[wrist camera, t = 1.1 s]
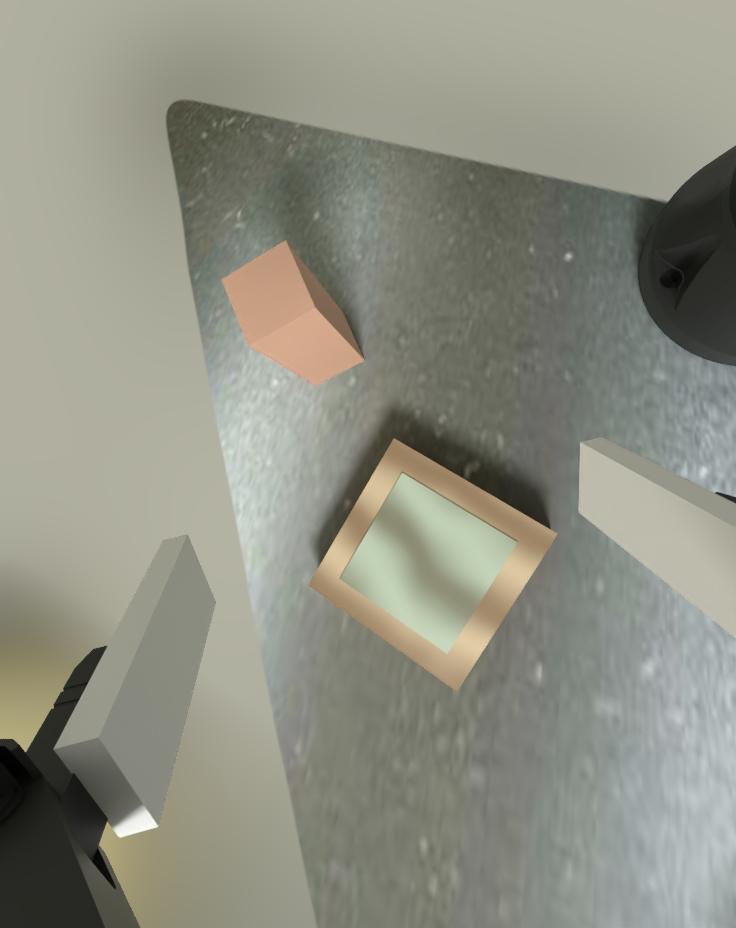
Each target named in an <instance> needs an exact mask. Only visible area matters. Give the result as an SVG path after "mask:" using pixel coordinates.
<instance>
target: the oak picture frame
mask: <svg viewBox="0 0 736 928" xmlns="http://www.w3.org/2000/svg"><path fill="white" fill-rule="evenodd" d="M557 535H558V534H557V533H556V532H554V531H553V530H551V529H549V528H548V527H546V526H544V525H542V524H541V523H539V522H537V521H536V520H534V519H532V518H531V517H529V516H527V515H525V514H524V513H522V512H520V511H519V510H517V509H515V508H513V507H512V506H510V505H508V504H507V503H505V502H503V501H501V500H500V499H498V498H496V497H495V496H493V495H491V494H489V493H488V492H486V491H484V490H483V489H481V488H479V487H477V486H476V485H474V484H472V483H471V482H469V481H467V480H465V479H464V478H462V477H460V476H459V475H457V474H455V473H453V472H452V471H450V470H448V469H447V468H445V467H443V466H441V465H440V464H438V463H436V462H435V461H433V460H431V459H429V458H428V457H426V456H424V455H423V454H421V453H419V452H417V451H416V450H414V449H412V448H411V447H409V446H407V445H405V444H404V443H402V442H400V441H398V440H396V439H393V440H392V442H391V444H390V446H389V447H388V449H387V451H386V452H385V454H384V456H383V458H382V459H381V461H380V463H379V464H378V466H377V468H376V470H375V471H374V473H373V475H372V476H371V478H370V480H369V482H368V483H367V485H366V487H365V488H364V490H363V492H362V494H361V495H360V497H359V499H358V500H357V502H356V504H355V506H354V507H353V509H352V511H351V513H350V514H349V516H348V518H347V519H346V521H345V523H344V525H343V526H342V528H341V530H340V531H339V533H338V535H337V537H336V538H335V540H334V542H333V543H332V545H331V547H330V549H329V550H328V552H327V554H326V555H325V557H324V559H323V561H322V562H321V564H320V566H319V567H318V569H317V571H316V573H315V574H314V576H313V578H312V579H311V581H310V583H309V586H310V587H312V588H313V589H314V590H316V591H317V592H319V593H320V594H321V595H323V596H324V597H326V598H327V599H328V600H330V601H331V602H333V603H334V604H335V605H337V606H338V607H340V608H341V609H342V610H344V611H345V612H347V613H348V614H349V615H351V616H352V617H354V618H355V619H356V620H358V621H359V622H361V623H362V624H363V625H365V626H366V627H367V628H369V629H370V630H372V631H373V632H374V633H376V634H377V635H379V636H380V637H381V638H383V639H384V640H386V641H387V642H388V643H390V644H391V645H393V646H394V647H395V648H397V649H398V650H400V651H401V652H402V653H404V654H405V655H407V656H408V657H409V658H411V659H412V660H414V661H415V662H416V663H418V664H419V665H421V666H422V667H423V668H425V669H426V670H428V671H429V672H430V673H432V674H433V675H435V676H436V677H437V678H439V679H440V680H441V681H443V682H444V683H446V684H447V685H448V686H450V687H451V688H453V689H454V690H455V691H458V689H459V688H460V686H461V685H462V683H463V681H464V680H465V678H466V677H467V675H468V674H469V672H470V671H471V669H472V667H473V666H474V664H475V663H476V661H477V660H478V658H479V656H480V655H481V653H482V652H483V650H484V649H485V647H486V646H487V644H488V642H489V641H490V639H491V638H492V636H493V635H494V633H495V631H496V630H497V628H498V627H499V625H500V624H501V622H502V620H503V619H504V617H505V616H506V614H507V613H508V611H509V610H510V608H511V606H512V605H513V603H514V602H515V600H516V599H517V597H518V595H519V594H520V592H521V591H522V589H523V588H524V586H525V585H526V583H527V581H528V580H529V578H530V577H531V575H532V574H533V572H534V570H535V569H536V567H537V566H538V564H539V563H540V561H541V560H542V558H543V556H544V555H545V553H546V552H547V550H548V549H549V547H550V545H551V544H552V542H553V541H554V539H555V538H556V536H557Z"/></svg>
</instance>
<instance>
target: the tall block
mask: <svg viewBox="0 0 736 928" xmlns="http://www.w3.org/2000/svg"><path fill="white" fill-rule="evenodd" d="M222 282H223V285H224V287H225V289H226V292H227V294H228V297H229V299H230V302H231V304H232V307H233V309H234V312H235V314H236V316H237V319H238V321H239V324H240V326H241V329H242V331H243V334H244V336H245V338H246V341H247V343H248V346H250V347H251V348H253V349H255V350H256V351H258V352H260V353H261V354H263V355H265V356H267V357H268V358H270V359H272V360H273V361H275V362H277V363H278V364H280V365H282V366H283V367H285V368H287V369H289V370H290V371H292V372H294V373H295V374H297V375H299V376H300V377H302V378H304V379H306V380H307V381H309V382H311V383H312V384H314V385H316V386H317V385H319V384H320V383H322V382H324V381H326V380H328V379H330V378H332V377H334V376H336V375H338V374H339V373H341V372H343V371H345V370H347V369H349V368H351V367H353V366H355V365H357V364H358V363H360V362H362V361H364V358H363V356H362V353H361V351H360V349H359V347H358V345H357V342H356V340H355V338H354V336H353V333H352V331H351V329H350V327H349V324H348V322H347V320H346V318H345V315H344V313H343V311H342V310H341V309H340V308H339V306H338V305H337V304H336V303H335V301H334V300H333V299H332V298H331V296H330V295H329V294H328V293H327V291H326V290H325V289H324V287H323V286H322V285H321V284H320V282H319V281H318V280H317V279H316V277H315V276H314V275H313V274H312V272H311V271H310V270H309V269H308V267H307V266H306V265H305V264H304V262H303V261H302V260H301V259H300V257H299V256H298V255H297V254H296V252H295V251H294V250H293V249H292V247H291V246H290V245H289V243H288V242H287V241H286V240H285V241H283V242H282V243H280V244H278V245H277V246H275V247H274V248H272V249H270V250H269V251H267V252H265V253H264V254H262V255H261V256H259V257H257V258H256V259H254V260H253V261H251V262H249V263H248V264H246V265H244V266H243V267H241V268H240V269H238V270H236V271H235V272H233V273H232V274H230V275H228V276H227V277H225V278H223V279H222Z"/></svg>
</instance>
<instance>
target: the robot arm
mask: <svg viewBox="0 0 736 928" xmlns="http://www.w3.org/2000/svg"><path fill="white" fill-rule="evenodd" d="M639 281H640V288H641V293H642V297H643V300H644V303H645V305H646V307H647V310H648V311H649V313H650V315H651V317H652V318H653V320H654V321H655V323H656V324H657V325H658V327H659V328H660V329H661V330H662V331H663V332H664V333H665V334H666V335H667V336H668V337H669V338H670V339H671V340H672V341H674V342H675V343H676V344H678V345H679V346H681V347H682V348H684V349H685V350H687V351H689V352H691V353H693V354H695V355H697V356H699V357H702V358H704V359H707V360H710V361H714V362H717V363H721V364H727V365H733V366H736V146H734V147H733V148H731V149H730V150H728V151H727V152H725V153H724V154H722V155H721V156H719V157H718V158H716V159H715V160H714V161H712V162H711V163H709V164H707V165H706V166H705V167H703V168H702V169H700V170H699V171H698V172H697V173H696V174H694V175H693V176H692V177H691V178H690V179H689V180H688V181H687V182H685V183H684V184H683V185H682V186H681V188H679V190H678V191H677V192H676V193H675V194H674V195H673V197H672V198H671V199H670V200H669V202H668V203H667V205H666V206H665V207H664V209H663V210H662V212H661V213H660V215H659V216H658V218H657V219H656V221H655V222H654V224H653V225H652V227H651V229H650V231H649V233H648V235H647V237H646V240H645V243H644V246H643V249H642V253H641V257H640V265H639ZM579 513H580V514H581V515H582V516H584V517H585V518H586V519H587V520H589V521H590V522H591V523H592V524H594V525H595V526H596V527H597V528H599V529H600V530H601V531H602V532H604V533H605V534H606V535H607V536H609V537H610V538H611V539H612V540H614V541H615V542H616V543H617V544H619V545H620V546H621V547H622V548H624V549H625V550H626V551H627V552H629V553H630V554H631V555H632V556H634V557H635V558H636V559H637V560H639V561H640V562H641V563H642V564H644V565H645V566H646V567H647V568H649V569H650V570H651V571H652V572H653V573H655V574H656V575H657V576H658V577H660V578H661V579H662V580H663V581H665V582H666V583H667V584H668V585H670V586H671V587H672V588H673V589H675V590H676V591H677V592H678V593H680V594H681V595H682V596H683V597H685V598H686V599H687V600H688V601H690V602H691V603H692V604H693V605H695V606H696V607H697V608H698V609H700V610H701V611H702V612H703V613H705V614H706V615H707V616H708V617H710V618H711V619H712V620H713V621H715V622H716V623H717V624H718V625H720V626H721V627H722V628H723V629H724V630H726V631H727V632H728V633H729V634H731V635H732V636H733V637H734V638H736V497H733V496H729V495H726V494H722V493H718V492H716V493H713V492H711V491H709V490H707V489H705V488H703V487H701V486H699V485H697V484H695V483H693V482H691V481H689V480H687V479H685V478H683V477H681V476H679V475H677V474H675V473H673V472H671V471H669V470H667V469H665V468H663V467H661V466H659V465H657V464H655V463H653V462H651V461H649V460H647V459H645V458H643V457H641V456H639V455H637V454H635V453H633V452H631V451H628V450H626V449H624V448H622V447H620V446H618V445H616V444H614V443H612V442H610V441H608V440H606V439H604V438H602V437H600V438H596V439H592V440H587V441H583V442H580V475H579ZM215 603H216V601H215V599H214V597H213V594H212V592H211V589H210V587H209V585H208V582H207V580H206V577H205V575H204V573H203V570H202V568H201V566H200V563H199V561H198V558H197V556H196V553H195V551H194V549H193V546H192V544H191V541H190V539H189V537H188V535H184V536H179V537H175V538H171V539H167V540H163V541H162V543H161V545H160V547H159V549H158V551H157V553H156V555H155V557H154V559H153V560H152V562H151V564H150V567H149V568H148V570H147V572H146V574H145V576H144V578H143V580H142V581H141V583H140V585H139V587H138V589H137V591H136V593H135V595H134V597H133V599H132V601H131V602H130V604H129V606H128V608H127V610H126V612H125V614H124V616H123V618H122V620H121V621H120V623H119V625H118V627H117V629H116V631H115V633H114V635H113V637H112V639H111V640H110V643H109V644H108V646H104V647H100V648H96V649H93V650H92V651H91V652H90V653H89V654H88V655H87V656H86V657H85V658H84V659H83V660H82V661H81V663H79V665H78V666H77V667H76V668H75V669H74V671H73V672H72V674H71V676H70V678H69V679H68V681H67V683H66V684H65V686H64V688H63V689H64V691H63V692H61V693H60V695H59V697H58V698H57V700H56V702H55V704H54V709H51V710H50V712H49V714H48V715H47V717H46V719H45V721H44V722H43V724H42V726H41V728H40V729H39V731H38V733H37V735H36V736H35V738H34V740H33V741H32V743H31V745H30V747H29V748H28V750H27V752H26V753H25V752H24V750H23V749H22V748H21V747H20V745H19V744H18V743H17V742H15V741H14V740H13V739H0V928H140V926H139V924H138V922H137V920H136V918H135V916H134V914H133V911H132V909H131V907H130V905H129V903H128V901H127V899H126V897H125V895H124V892H123V890H122V888H121V886H120V884H119V882H118V880H117V878H116V875H115V873H114V871H113V869H112V867H111V865H110V863H109V860H108V858H107V856H106V854H105V853H104V851H103V850H102V849H101V847H100V846H99V842H100V839H101V837H102V834H103V831H104V828H105V825H106V822H108V823H109V824H110V826H111V827H112V828H113V830H114V831H115V832H116V834H117V835H118V836H119V837H123V836H127V835H130V834H134V833H138V832H141V831H145V830H148V829H152V828H156V827H158V826H159V822H160V819H161V815H162V811H163V806H164V803H165V799H166V795H167V791H168V787H169V783H170V779H171V776H172V772H173V768H174V764H175V760H176V756H177V752H178V748H179V744H180V740H181V736H182V733H183V729H184V725H185V721H186V717H187V713H188V709H189V705H190V701H191V697H192V693H193V690H194V686H195V682H196V678H197V674H198V670H199V666H200V662H201V658H202V654H203V650H204V646H205V642H206V638H207V634H208V631H209V627H210V623H211V619H212V615H213V611H214V607H215Z"/></svg>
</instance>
